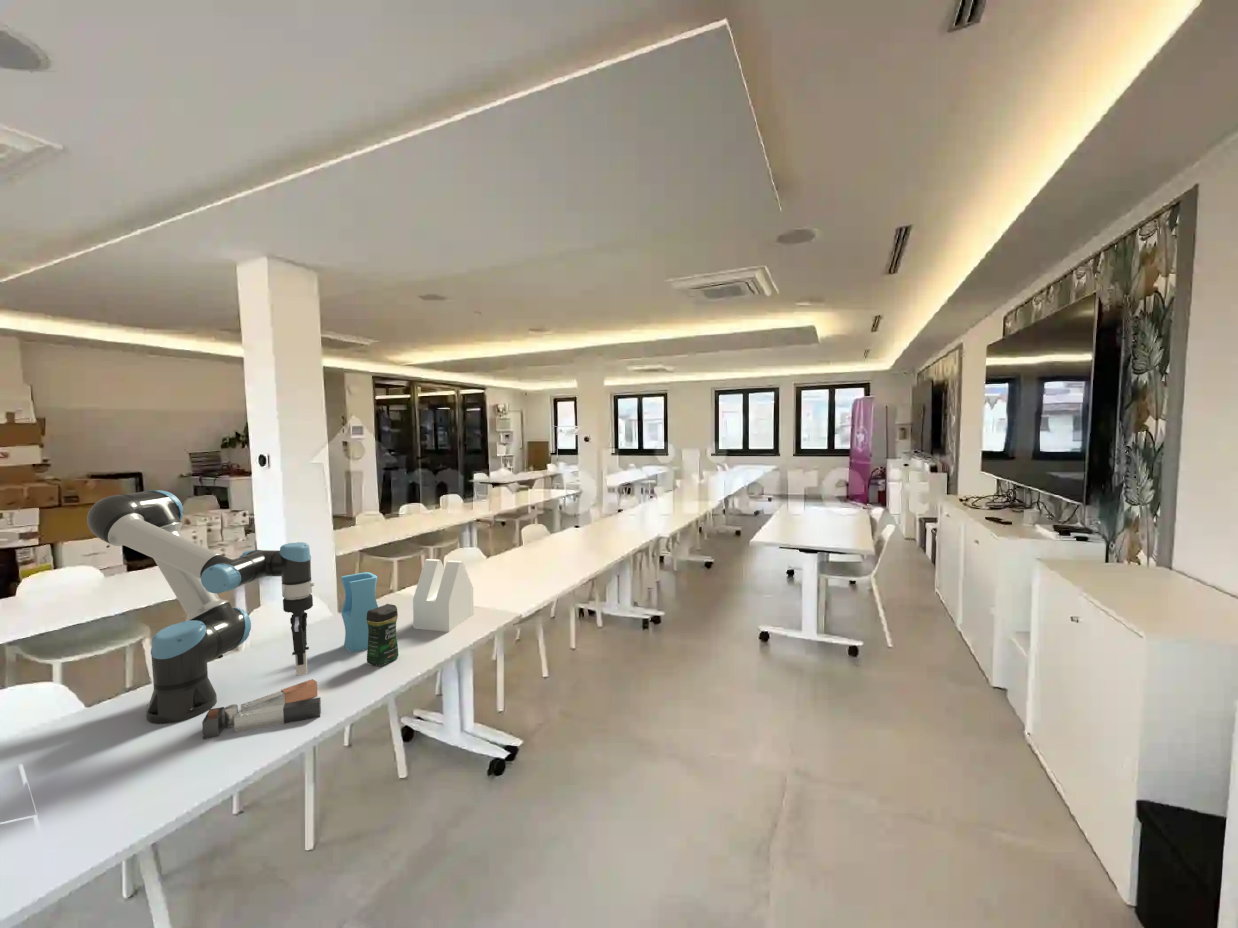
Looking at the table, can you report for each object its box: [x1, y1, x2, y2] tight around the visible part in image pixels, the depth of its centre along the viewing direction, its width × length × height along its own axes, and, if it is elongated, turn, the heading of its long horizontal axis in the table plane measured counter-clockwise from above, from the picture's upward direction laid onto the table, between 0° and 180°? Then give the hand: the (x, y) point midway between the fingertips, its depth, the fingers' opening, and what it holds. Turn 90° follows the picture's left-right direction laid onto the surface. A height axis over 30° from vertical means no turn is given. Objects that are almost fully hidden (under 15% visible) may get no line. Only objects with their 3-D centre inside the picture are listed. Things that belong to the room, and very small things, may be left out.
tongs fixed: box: [201, 696, 322, 740], centre depth 144 cm, size 26×7×6 cm, turn 114°
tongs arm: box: [224, 678, 318, 729], centre depth 150 cm, size 22×3×5 cm, turn 142°
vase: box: [340, 571, 379, 653], centre depth 194 cm, size 10×10×25 cm
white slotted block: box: [412, 558, 474, 633], centre depth 218 cm, size 19×15×25 cm
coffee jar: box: [366, 603, 399, 666], centre depth 182 cm, size 10×8×19 cm
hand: (301, 673), depth 161 cm, fingers closed
